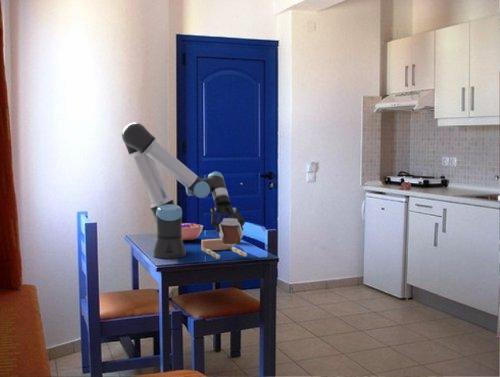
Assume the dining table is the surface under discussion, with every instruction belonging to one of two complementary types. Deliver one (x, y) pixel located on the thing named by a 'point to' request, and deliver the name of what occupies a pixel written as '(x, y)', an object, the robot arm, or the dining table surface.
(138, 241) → the dining table surface
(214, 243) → the end stop
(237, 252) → the track rails
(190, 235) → the cell model
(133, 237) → the dining table surface
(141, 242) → the dining table surface
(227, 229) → the coffee cup
